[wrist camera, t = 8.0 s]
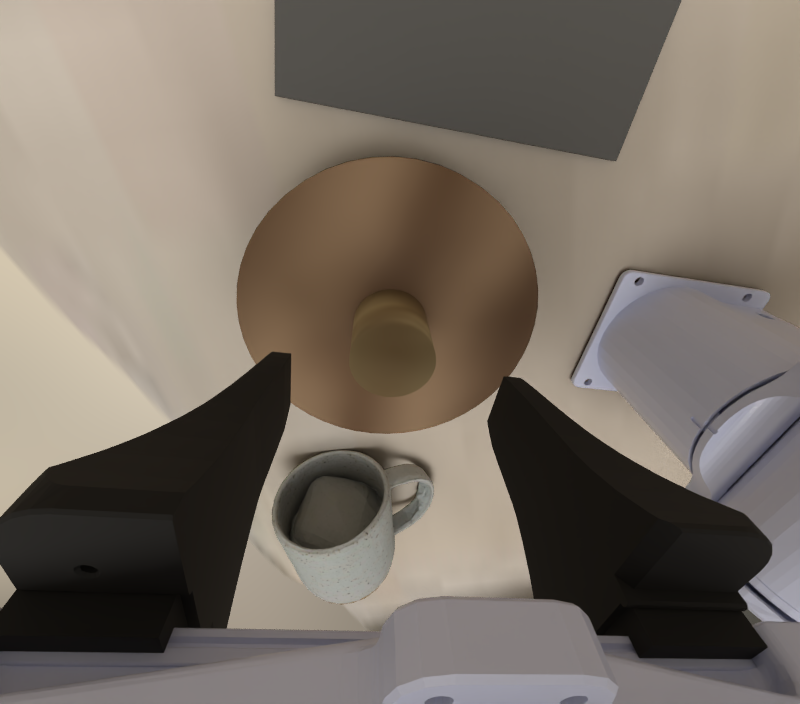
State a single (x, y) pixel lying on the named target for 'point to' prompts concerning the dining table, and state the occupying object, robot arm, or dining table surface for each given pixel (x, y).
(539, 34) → the rubber mat
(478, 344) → the walnut cover
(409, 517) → the ceramic mug
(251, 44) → the dining table surface
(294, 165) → the dining table surface
